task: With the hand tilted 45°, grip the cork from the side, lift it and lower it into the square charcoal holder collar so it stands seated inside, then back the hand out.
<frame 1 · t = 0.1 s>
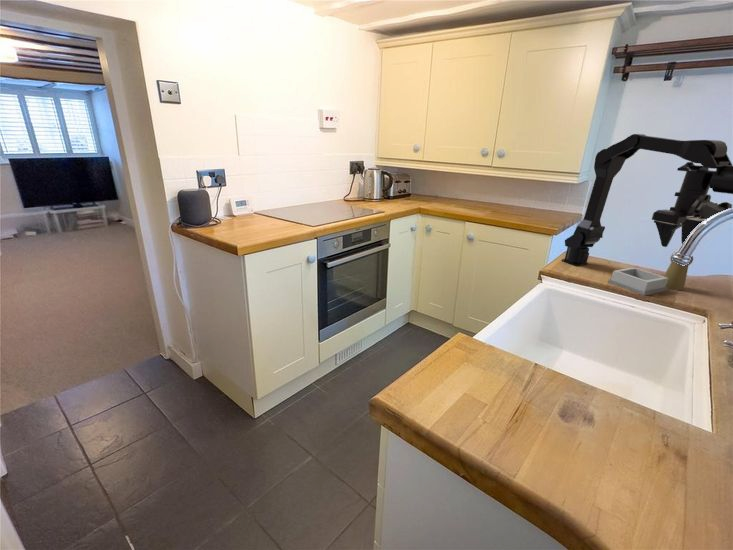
hand: (674, 245, 101), 15 cm above the worktop, tool pointing down, fingers open, 9 cm apart
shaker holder: (636, 286, 110), on the worktop
cork: (671, 287, 111), on the worktop
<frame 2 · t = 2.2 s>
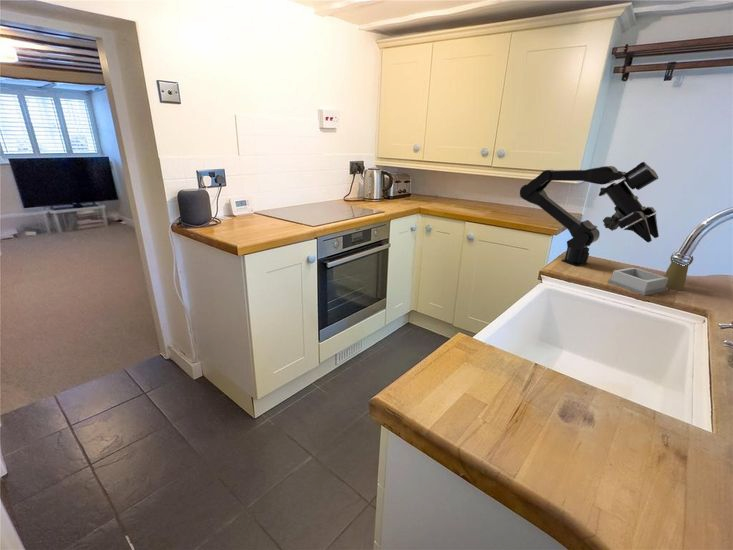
hand: (653, 239, 112), 13 cm above the worktop, tool tilted 45°, fingers open, 9 cm apart
nothing on the worktop moved.
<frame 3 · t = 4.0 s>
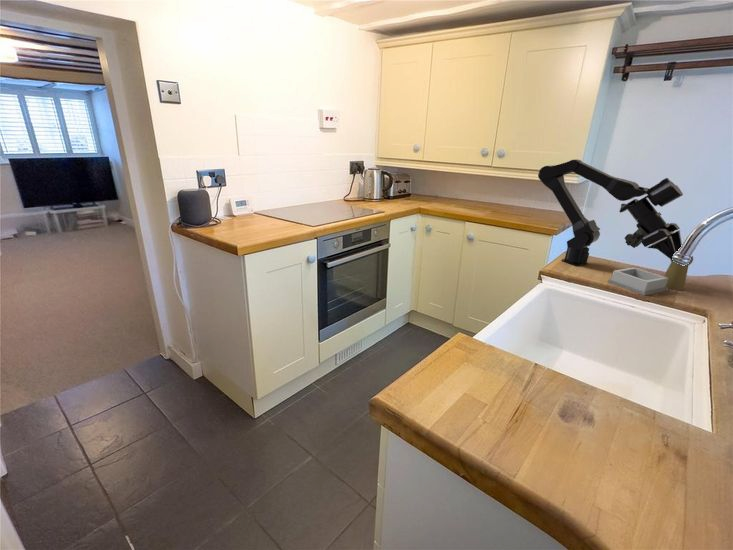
hand: (678, 257, 108), 9 cm above the worktop, tool tilted 45°, fingers open, 9 cm apart
nothing on the worktop moved.
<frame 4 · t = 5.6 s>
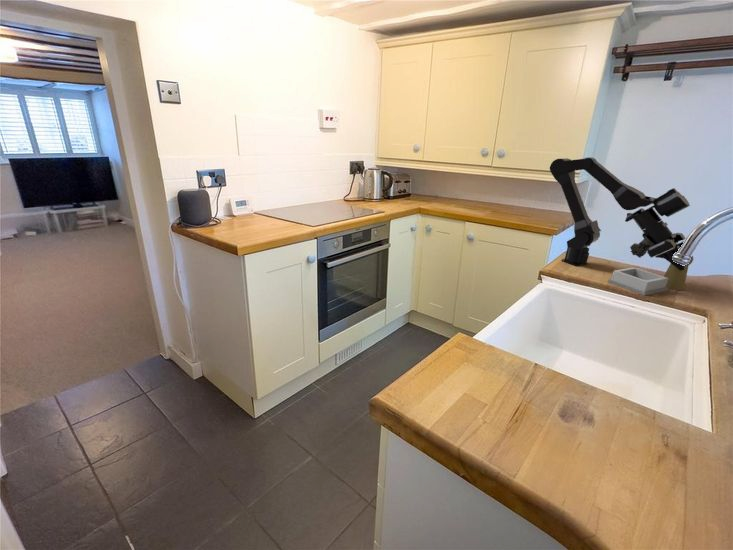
hand: (684, 268, 107), 7 cm above the worktop, tool tilted 45°, fingers closed on cork, 5 cm apart
cork: (671, 287, 111), on the worktop, touching gripper
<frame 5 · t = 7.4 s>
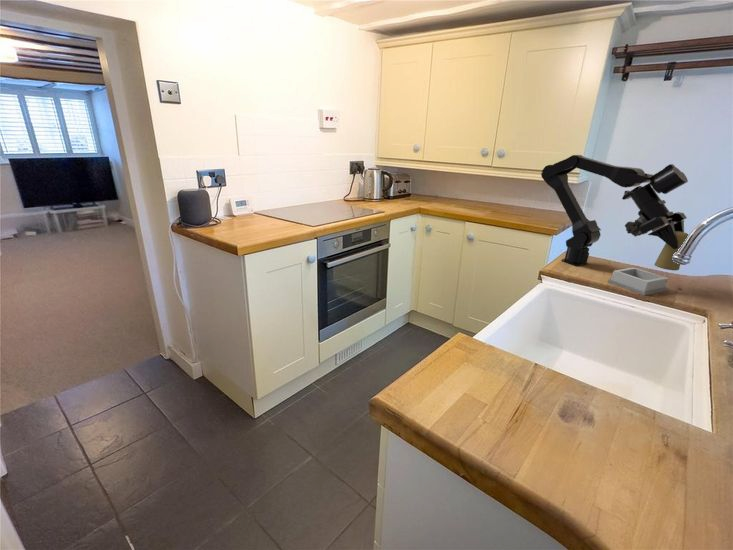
hand: (679, 247, 104), 13 cm above the worktop, tool tilted 45°, fingers closed on cork, 5 cm apart
cork: (666, 267, 108), point 6 cm above the worktop, touching gripper
when the fingers open (9 cm above the worktop, at t = 9.4 s): cork drops 1 cm, resting on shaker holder.
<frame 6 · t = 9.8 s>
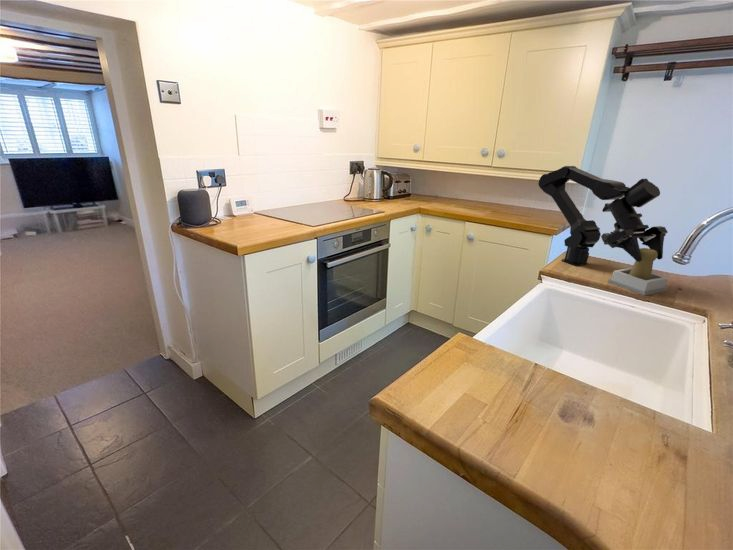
hand: (650, 260, 106), 9 cm above the worktop, tool tilted 45°, fingers open, 9 cm apart
cork: (637, 283, 110), point 1 cm above the worktop, touching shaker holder
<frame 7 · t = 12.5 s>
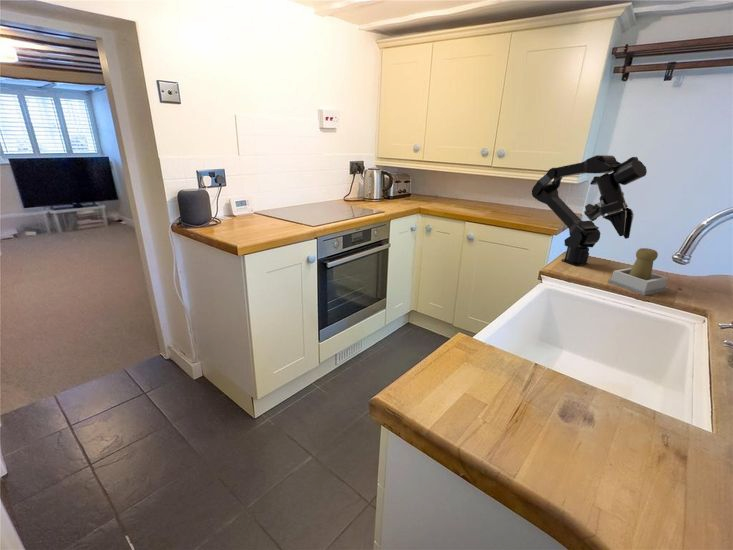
hand: (624, 237, 113), 14 cm above the worktop, tool tilted 35°, fingers open, 9 cm apart
nothing on the worktop moved.
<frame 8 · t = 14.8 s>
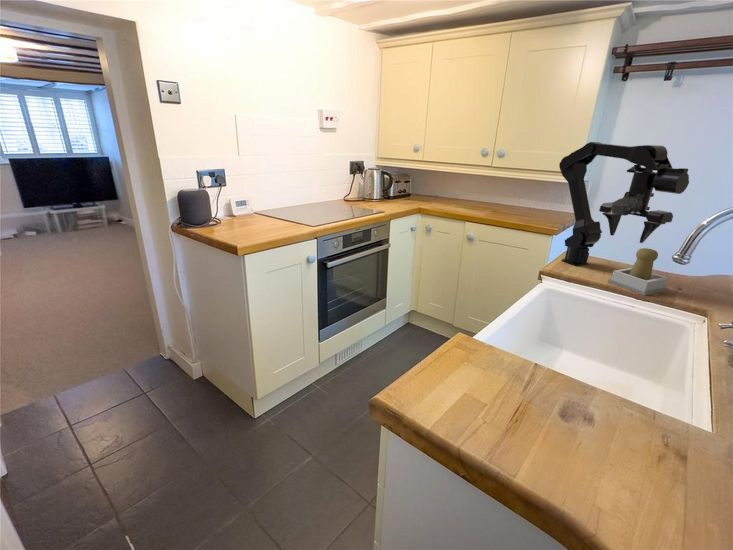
hand: (626, 238, 113), 13 cm above the worktop, tool pointing down, fingers open, 9 cm apart
nothing on the worktop moved.
at the end: cork 0.1 cm off-centre on the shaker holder, point 0.8 cm above the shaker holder's base; cork tilted 0°; the gripper is holding nothing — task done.
